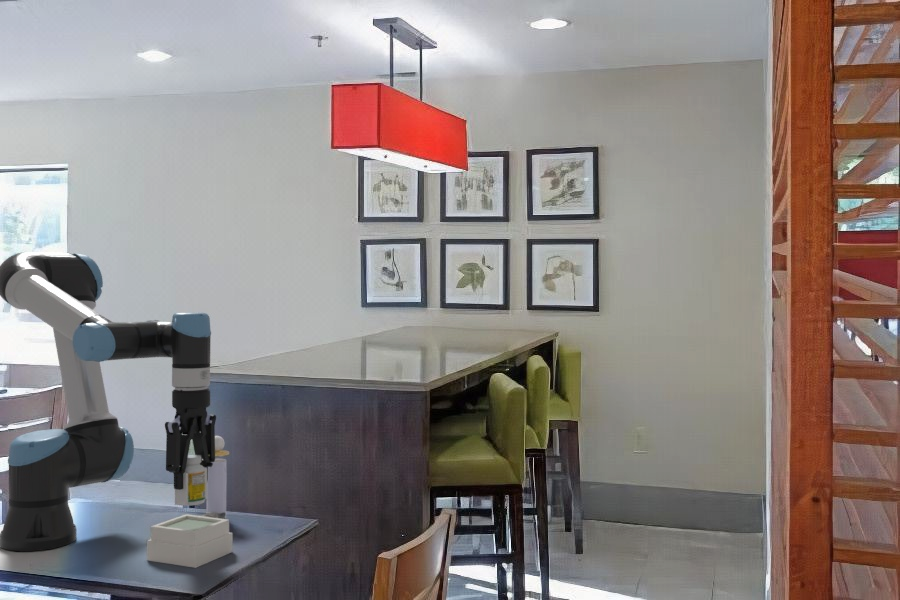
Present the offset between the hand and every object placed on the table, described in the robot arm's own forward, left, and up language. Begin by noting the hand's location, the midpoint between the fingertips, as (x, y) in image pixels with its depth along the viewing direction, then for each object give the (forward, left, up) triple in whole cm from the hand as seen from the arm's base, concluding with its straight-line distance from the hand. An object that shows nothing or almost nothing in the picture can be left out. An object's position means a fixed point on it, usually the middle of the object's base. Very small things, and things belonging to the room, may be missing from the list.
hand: (191, 501), depth 190 cm
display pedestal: (0, 0, -11) cm, 11 cm away
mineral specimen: (-10, +16, -12) cm, 22 cm away
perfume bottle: (-13, +26, -11) cm, 31 cm away
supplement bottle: (0, 0, 0) cm, 1 cm away
